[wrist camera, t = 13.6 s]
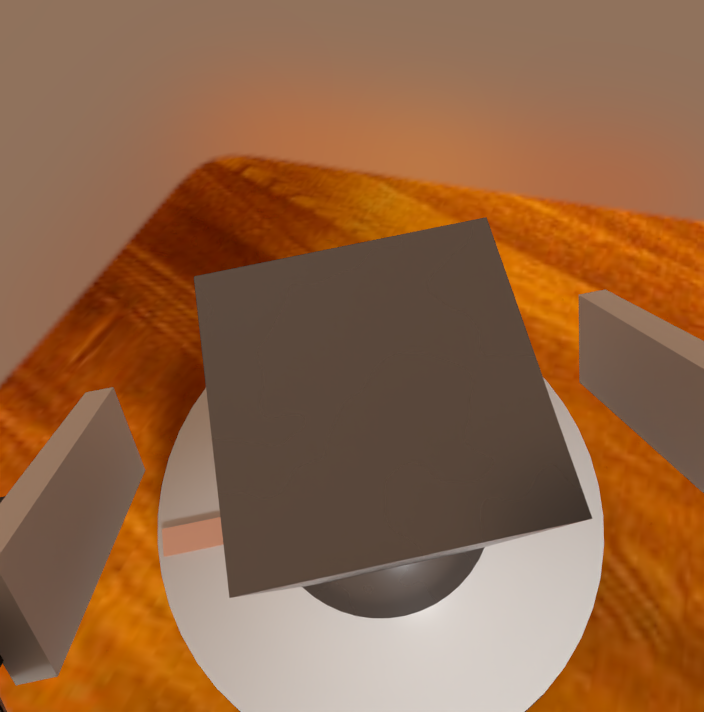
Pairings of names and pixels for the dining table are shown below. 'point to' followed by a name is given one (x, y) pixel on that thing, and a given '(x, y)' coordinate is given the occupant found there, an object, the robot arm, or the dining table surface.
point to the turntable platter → (378, 635)
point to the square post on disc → (377, 420)
